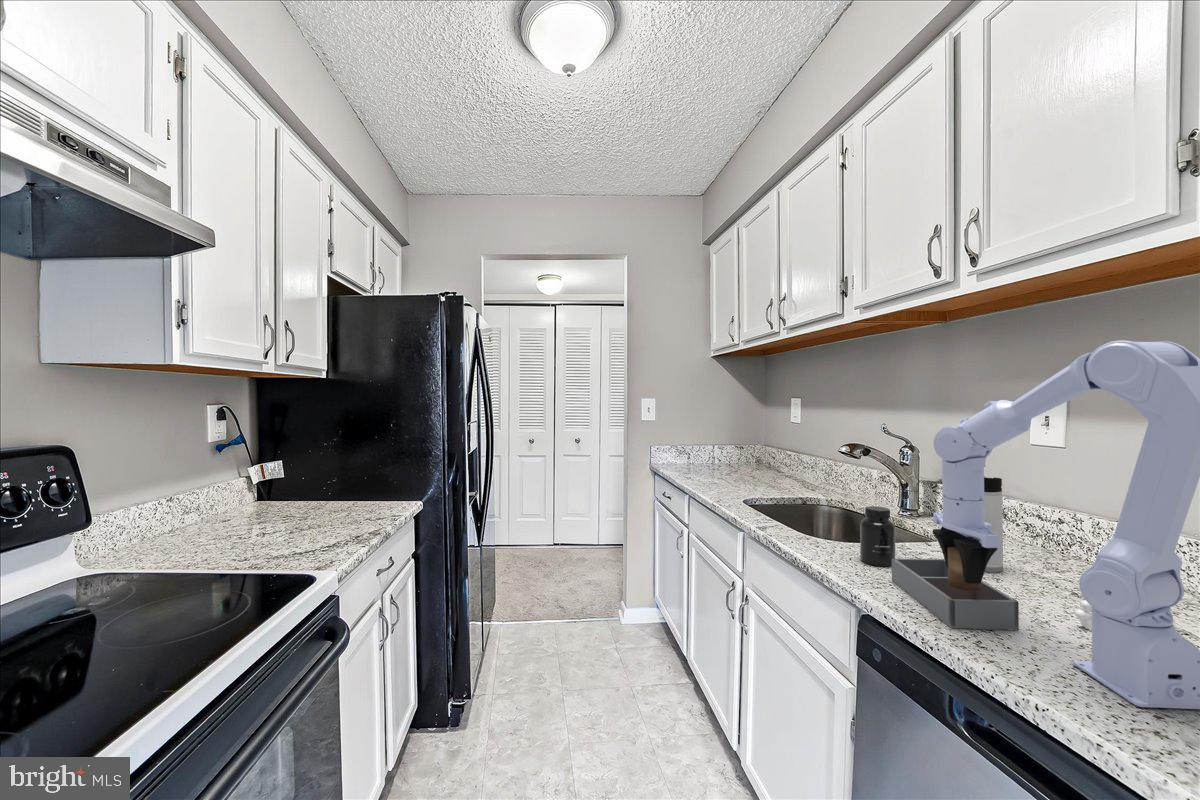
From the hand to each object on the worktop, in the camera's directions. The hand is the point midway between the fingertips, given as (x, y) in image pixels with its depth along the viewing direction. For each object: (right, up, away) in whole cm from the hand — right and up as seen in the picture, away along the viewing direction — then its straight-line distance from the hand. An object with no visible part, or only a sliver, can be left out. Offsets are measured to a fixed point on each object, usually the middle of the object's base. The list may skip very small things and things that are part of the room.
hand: (964, 577), depth 84 cm
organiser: (+1, -6, +5) cm, 8 cm away
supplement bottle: (0, -6, +26) cm, 27 cm away
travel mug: (+20, -6, +21) cm, 29 cm away
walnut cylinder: (0, -1, 0) cm, 1 cm away
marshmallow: (+17, -6, -6) cm, 19 cm away
